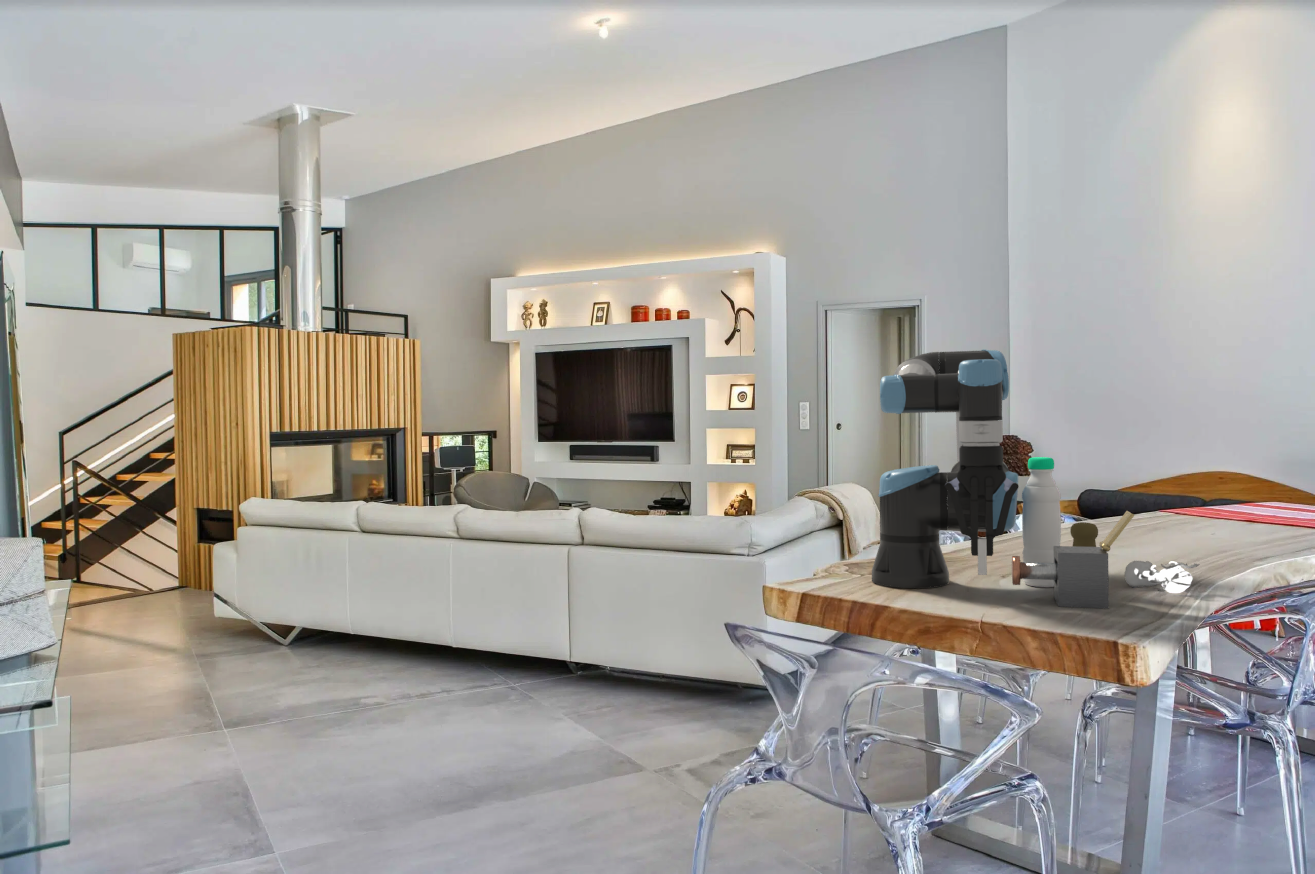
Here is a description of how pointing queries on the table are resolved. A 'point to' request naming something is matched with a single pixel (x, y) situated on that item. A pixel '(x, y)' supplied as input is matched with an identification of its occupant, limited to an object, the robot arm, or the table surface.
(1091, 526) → the cork
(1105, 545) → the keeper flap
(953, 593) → the table surface
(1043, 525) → the water bottle
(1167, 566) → the figurine
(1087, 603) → the block
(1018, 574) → the pin
